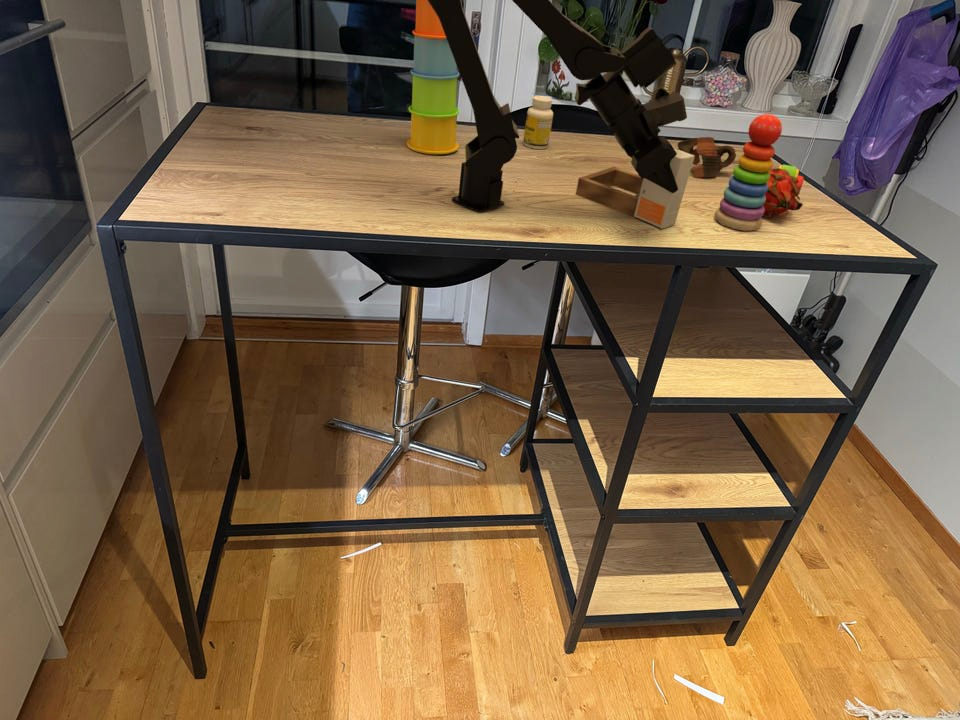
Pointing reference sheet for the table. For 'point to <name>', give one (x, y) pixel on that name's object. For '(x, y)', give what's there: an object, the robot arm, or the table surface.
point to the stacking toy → (750, 177)
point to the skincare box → (664, 194)
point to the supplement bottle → (538, 123)
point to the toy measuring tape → (793, 174)
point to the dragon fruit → (781, 193)
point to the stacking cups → (432, 86)
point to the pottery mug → (707, 155)
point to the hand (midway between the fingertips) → (670, 183)
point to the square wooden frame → (611, 189)
